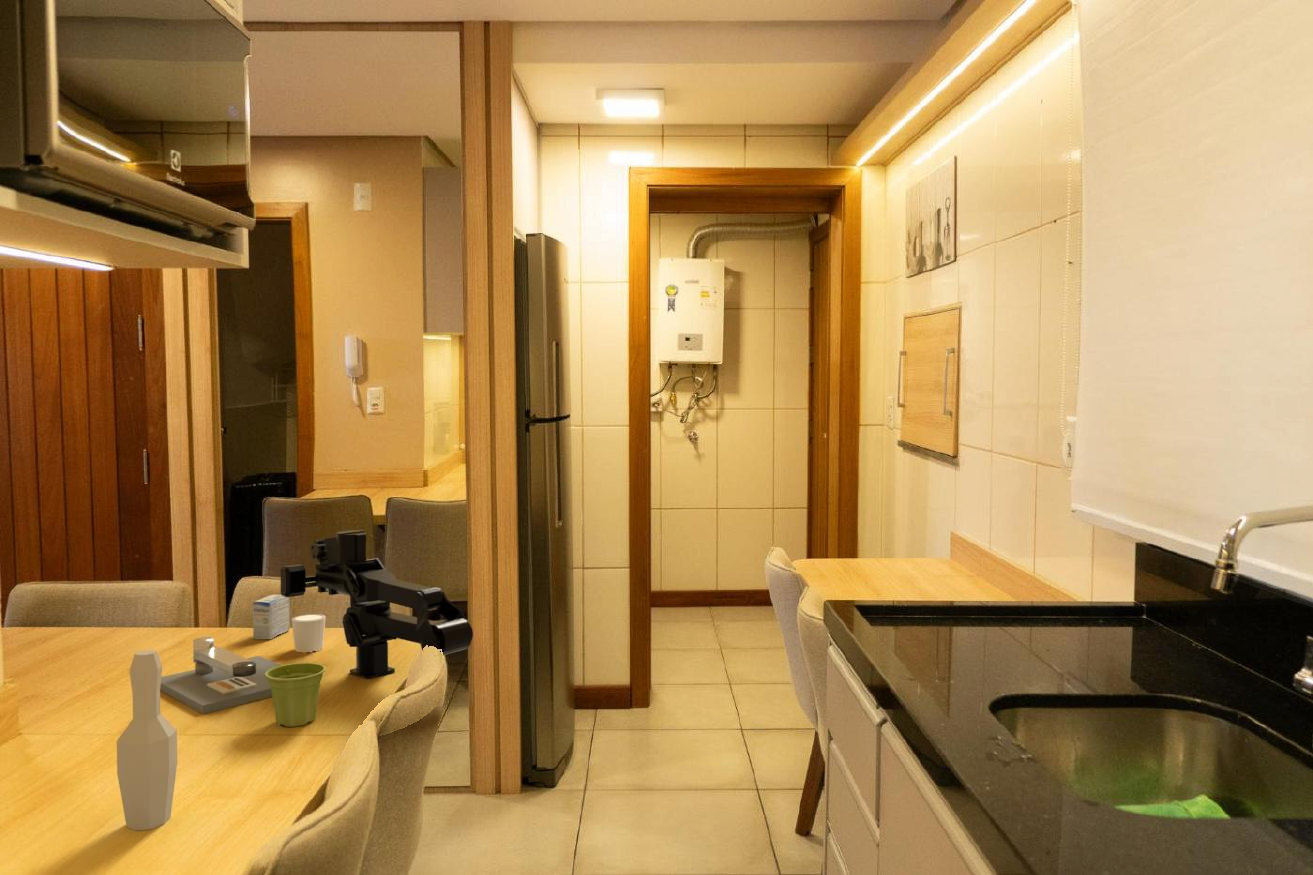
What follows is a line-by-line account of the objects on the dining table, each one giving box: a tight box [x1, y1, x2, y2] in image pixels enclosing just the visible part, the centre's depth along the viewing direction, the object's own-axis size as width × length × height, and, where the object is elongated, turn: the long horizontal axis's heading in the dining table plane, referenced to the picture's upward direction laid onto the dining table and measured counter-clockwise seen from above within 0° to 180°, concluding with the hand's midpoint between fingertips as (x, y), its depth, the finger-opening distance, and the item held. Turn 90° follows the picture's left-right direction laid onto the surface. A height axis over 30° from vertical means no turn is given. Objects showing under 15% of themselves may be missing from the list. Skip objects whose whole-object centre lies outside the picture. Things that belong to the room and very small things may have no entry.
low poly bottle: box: [116, 649, 178, 831], centre depth 112 cm, size 6×6×22 cm
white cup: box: [291, 613, 326, 653], centre depth 191 cm, size 7×7×7 cm
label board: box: [160, 655, 282, 715], centre depth 166 cm, size 22×20×4 cm
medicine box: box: [252, 594, 291, 640], centre depth 202 cm, size 8×4×9 cm, turn 172°
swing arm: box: [192, 636, 256, 677], centre depth 164 cm, size 21×4×4 cm, turn 50°
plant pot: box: [265, 662, 326, 728], centre depth 148 cm, size 9×9×9 cm
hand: (304, 572), depth 190 cm, fingers open, 9 cm apart
